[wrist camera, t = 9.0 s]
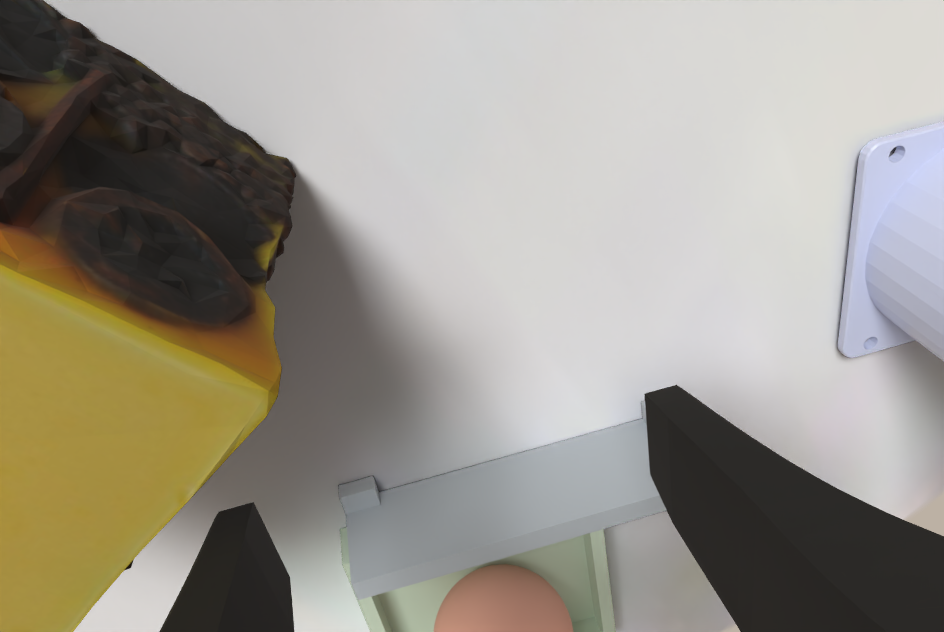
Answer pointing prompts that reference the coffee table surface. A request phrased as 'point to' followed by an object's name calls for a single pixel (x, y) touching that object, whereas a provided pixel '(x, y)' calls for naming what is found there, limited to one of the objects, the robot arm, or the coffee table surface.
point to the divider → (497, 508)
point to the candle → (119, 308)
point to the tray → (561, 564)
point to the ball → (503, 603)
